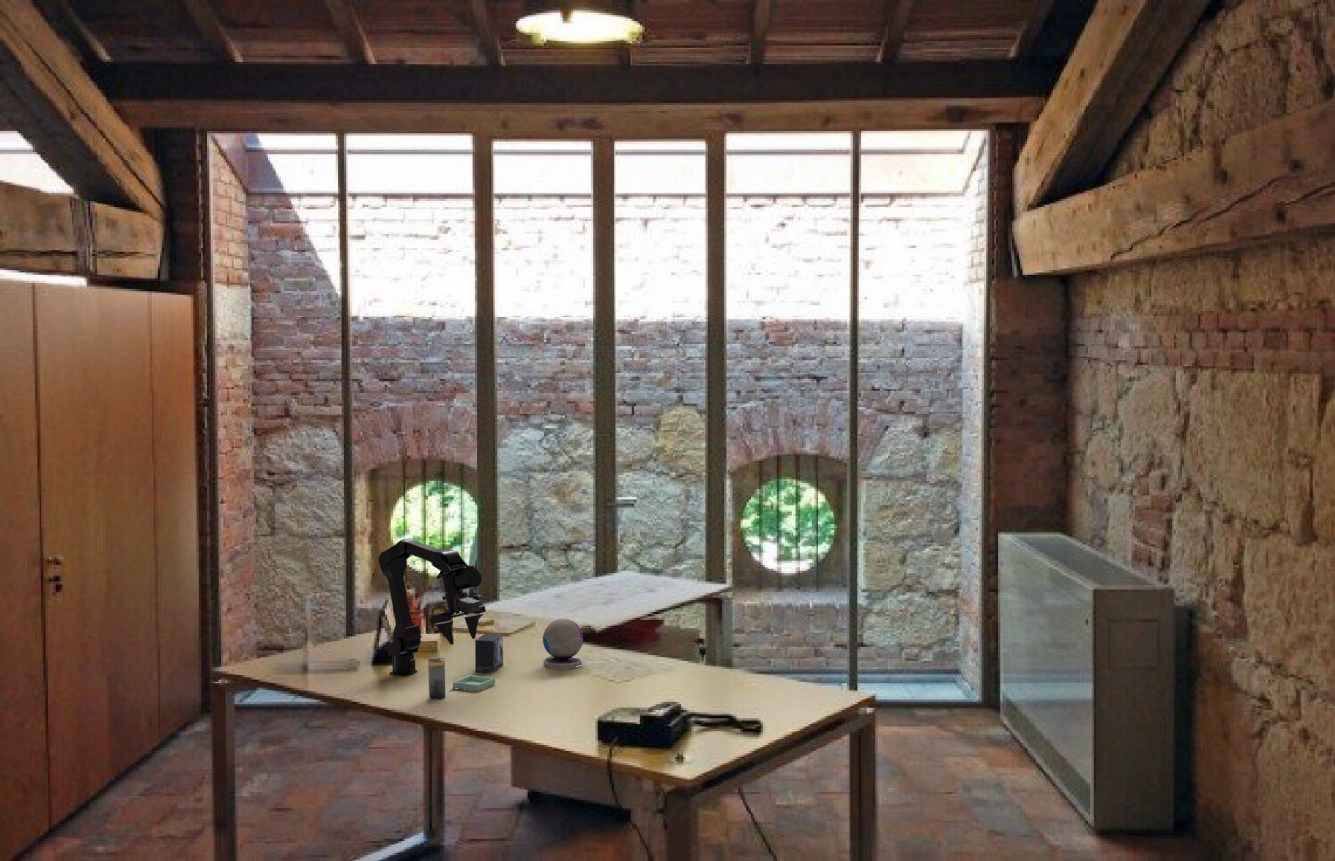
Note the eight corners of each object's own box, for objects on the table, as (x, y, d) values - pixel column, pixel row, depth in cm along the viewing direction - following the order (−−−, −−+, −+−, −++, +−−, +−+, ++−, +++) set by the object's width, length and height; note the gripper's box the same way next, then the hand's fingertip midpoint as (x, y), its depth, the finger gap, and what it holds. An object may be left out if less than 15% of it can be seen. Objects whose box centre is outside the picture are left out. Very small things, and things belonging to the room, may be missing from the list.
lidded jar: (425, 698, 428) (424, 658, 427) (435, 694, 432) (434, 654, 432) (439, 700, 426) (438, 660, 425) (448, 696, 430) (447, 656, 429)
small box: (494, 673, 458) (493, 640, 457) (474, 672, 459) (473, 640, 458) (504, 665, 468) (503, 633, 467) (485, 664, 469) (484, 632, 469)
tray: (452, 688, 439) (452, 682, 439) (469, 681, 447) (469, 675, 447) (478, 691, 435) (478, 685, 435) (495, 684, 443) (494, 678, 443)
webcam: (588, 667, 464) (587, 621, 463) (550, 671, 459) (549, 624, 458) (575, 658, 476) (574, 613, 475) (538, 662, 471) (537, 617, 470)
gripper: (449, 593, 430) (459, 644, 429) (493, 583, 445) (502, 633, 444) (424, 597, 437) (433, 648, 436) (468, 587, 452) (477, 637, 451)
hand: (463, 641), depth 441 cm, fingers open, 9 cm apart
